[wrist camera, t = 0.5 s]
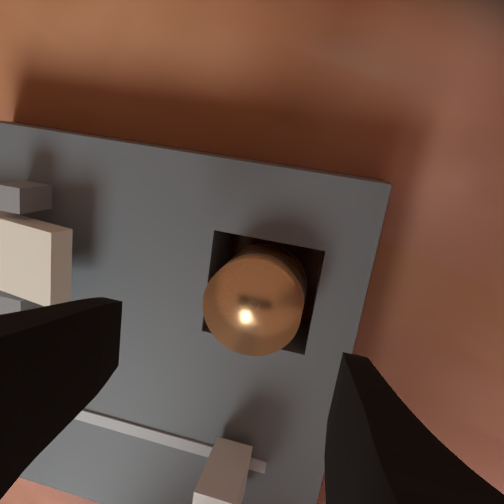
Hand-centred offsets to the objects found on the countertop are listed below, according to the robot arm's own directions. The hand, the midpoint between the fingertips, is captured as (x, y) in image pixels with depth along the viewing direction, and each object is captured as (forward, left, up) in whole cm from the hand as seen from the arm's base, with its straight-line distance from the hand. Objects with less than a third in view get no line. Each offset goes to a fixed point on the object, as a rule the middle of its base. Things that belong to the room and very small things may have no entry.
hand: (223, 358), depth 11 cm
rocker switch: (0, +10, -4) cm, 11 cm away
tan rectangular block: (-8, 0, -5) cm, 9 cm away
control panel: (-4, +5, -8) cm, 11 cm away
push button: (0, 0, -7) cm, 7 cm away
